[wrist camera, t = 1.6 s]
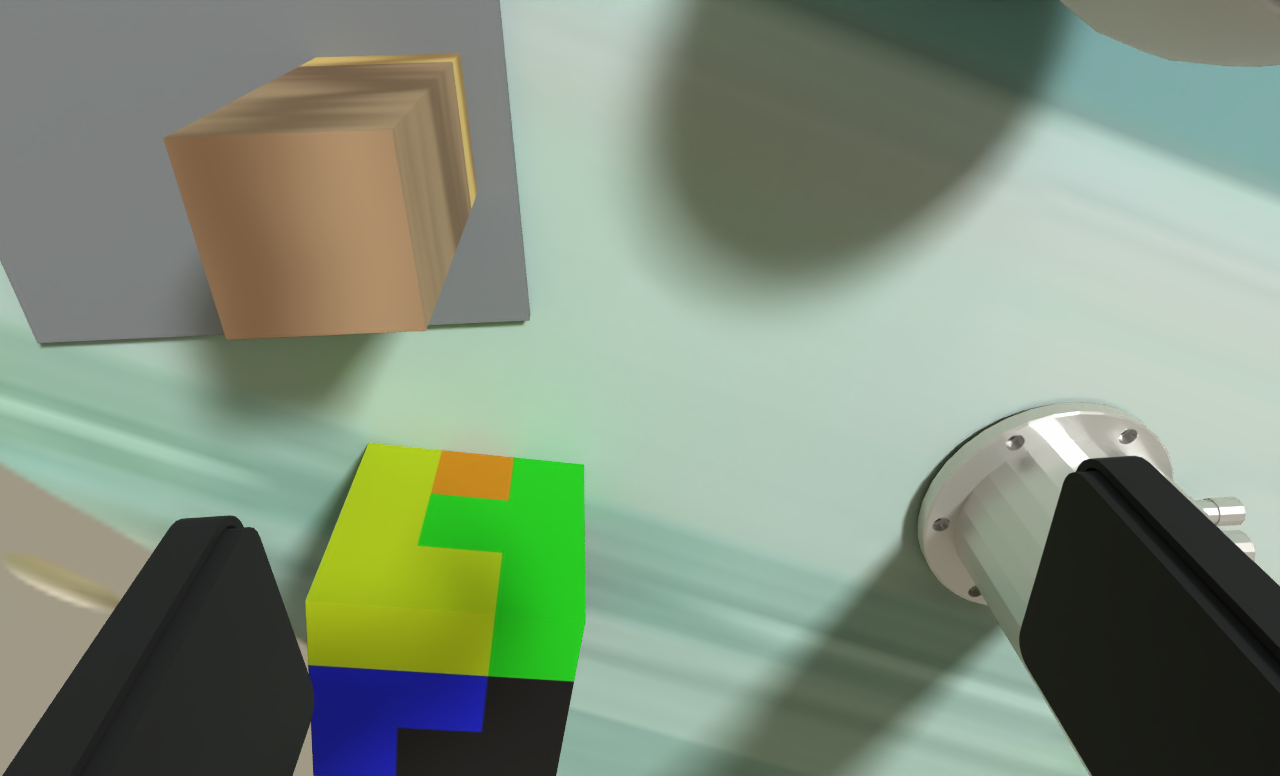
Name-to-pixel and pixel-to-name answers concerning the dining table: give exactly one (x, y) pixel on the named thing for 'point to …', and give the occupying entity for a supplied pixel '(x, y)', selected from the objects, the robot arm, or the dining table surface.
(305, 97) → the walnut block
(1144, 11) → the chalice
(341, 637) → the puzzle toy
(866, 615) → the dining table surface
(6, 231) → the rubber mat
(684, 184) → the dining table surface
